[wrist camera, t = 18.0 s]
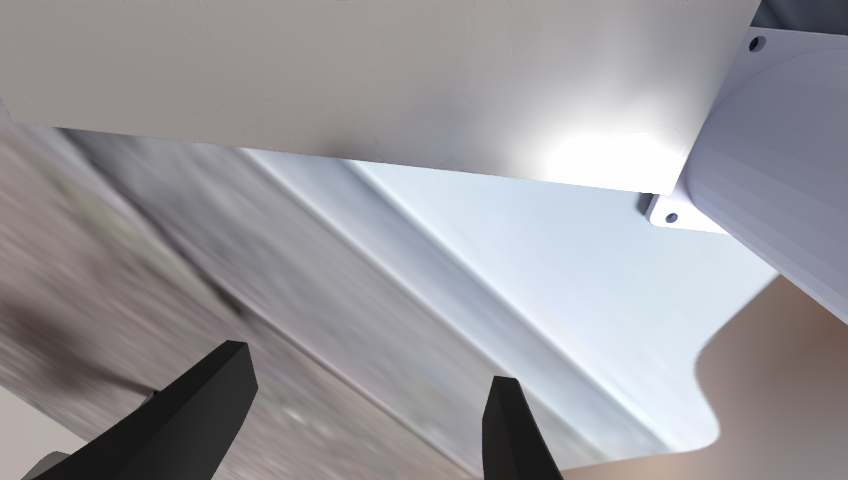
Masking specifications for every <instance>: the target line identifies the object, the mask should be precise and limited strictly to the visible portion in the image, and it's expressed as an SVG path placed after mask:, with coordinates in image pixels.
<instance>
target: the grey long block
mask: <svg viewBox="0 0 848 480" xmlns="http://www.w3.org/2000/svg"><path fill="white" fill-rule="evenodd" d="M761 1H762V0H0V97H1V99H2V101H3V103H4V105H5V107H6V109H7V111H8V113H9V115H10V117H11V119H12V121H13V122H18V123H27V124H36V125H45V126H54V127H63V128H72V129H81V130H90V131H99V132H108V133H117V134H126V135H135V136H144V137H153V138H162V139H171V140H180V141H189V142H198V143H207V144H216V145H225V146H234V147H243V148H252V149H261V150H270V151H279V152H288V153H297V154H306V155H315V156H324V157H333V158H342V159H351V160H360V161H369V162H378V163H387V164H396V165H405V166H414V167H423V168H432V169H441V170H450V171H459V172H468V173H477V174H486V175H495V176H504V177H513V178H522V179H531V180H540V181H549V182H558V183H567V184H576V185H585V186H594V187H603V188H612V189H621V190H630V191H639V192H648V193H658V194H667V195H670V193H671V191H672V189H673V187H674V185H675V183H676V181H677V179H678V176H679V174H680V172H681V170H682V168H683V166H684V164H685V162H686V159H687V157H688V155H689V153H690V151H691V149H692V147H693V145H694V142H695V140H696V138H697V136H698V134H699V132H700V130H701V128H702V126H703V123H704V121H705V119H706V117H707V115H708V113H709V111H710V109H711V106H712V104H713V102H714V100H715V98H716V96H717V94H718V92H719V90H720V87H721V85H722V83H723V81H724V79H725V77H726V75H727V73H728V70H729V68H730V66H731V64H732V62H733V60H734V58H735V56H736V54H737V51H738V49H739V47H740V45H741V43H742V41H743V39H744V37H745V34H746V32H747V30H748V28H749V26H750V24H751V22H752V20H753V18H754V15H755V13H756V11H757V9H758V7H759V5H760V3H761Z"/></svg>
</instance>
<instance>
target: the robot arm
mask: <svg viewBox="0 0 848 480" xmlns="http://www.w3.org/2000/svg"><path fill="white" fill-rule="evenodd" d="M756 37H757V38H758V44H757V46H756V47H755V48H754V49H753V50H752V51H750V50H749V45H750V43H751V41H752V40H753V39H754V38H756ZM671 213H674V214H673V216H672V217H671V218H669V219H666V217H667V215H669V214H671ZM645 217H646V220H647V221H648V222H649V223H650V224H651V225H654V226H659V227H668V228H677V229H686V230H694V231H703V232H712V233H721V234H729V235H731V236H733V237H734V238H735V239H736V240H738V241H739V242H740V243H742V244H743V245H744V246H746V247H747V248H748V249H749V250H751V251H752V252H753V253H755V254H756V255H757V256H759V257H760V258H761V259H763V260H764V261H765V262H766V263H768V264H769V265H770V266H772V267H773V268H774V269H776V270H777V271H778V272H779V273H781V274H782V275H784V276H785V277H786V278H787V279H789V280H790V281H791V282H793V283H794V284H795V285H797V286H798V287H799V288H800V289H802V290H803V291H805V292H806V293H807V294H808V295H810V296H811V297H812V298H814V299H815V300H816V301H817V302H819V303H820V304H821V305H823V306H824V307H825V308H826V309H828V310H829V311H830V312H832V313H833V314H834V315H836V316H837V317H838V318H839V319H841V320H842V321H843V322H845V323H846V324H847V325H848V36H845V35H835V34H824V33H813V32H802V31H791V30H780V29H770V28H759V27H749V28H748V30H747V32H746V34H745V37H744V39H743V41H742V43H741V45H740V47H739V49H738V51H737V54H736V56H735V58H734V60H733V62H732V64H731V66H730V68H729V70H728V73H727V75H726V77H725V79H724V81H723V83H722V85H721V87H720V90H719V92H718V94H717V96H716V98H715V100H714V102H713V104H712V106H711V109H710V111H709V113H708V115H707V117H706V119H705V121H704V123H703V126H702V128H701V130H700V132H699V134H698V136H697V138H696V140H695V142H694V145H693V147H692V149H691V151H690V153H689V155H688V157H687V159H686V162H685V164H684V166H683V168H682V170H681V172H680V174H679V176H678V179H677V181H676V183H675V185H674V187H673V189H672V191H671V193H670V195H667V194H658V193H655V194H654V196H653V198H652V200H651V203H650V205H649V207H648V209H647V212H646V215H645ZM257 390H258V385H257V381H256V377H255V373H254V369H253V364H252V360H251V356H250V352H249V348H248V344H247V343H245V342H238V341H230V340H227V341H225V342H224V343H223V344H221V345H220V346H219V347H217V348H216V349H215V350H213V351H212V352H211V353H210V354H208V355H207V356H206V357H204V358H203V359H202V360H201V361H199V362H198V363H197V364H196V365H194V366H193V367H192V368H190V369H189V370H188V371H187V372H185V373H184V374H183V375H182V376H180V377H179V378H178V379H176V380H175V381H174V382H172V383H171V384H170V385H169V386H167V387H166V388H165V389H163V390H162V391H161V392H159V393H158V394H157V395H155V396H154V397H153V398H151V399H150V400H149V401H147V402H146V403H145V404H143V405H142V406H141V407H139V408H138V409H137V410H135V411H134V412H132V413H131V414H130V415H128V416H127V417H125V418H124V419H123V420H121V421H120V422H118V423H117V424H116V425H114V426H113V427H111V428H110V429H109V430H107V431H106V432H104V433H103V434H101V435H100V436H99V437H97V438H96V439H94V440H93V441H91V442H90V443H88V444H87V445H85V446H84V447H82V448H81V449H79V450H78V451H76V452H75V453H73V454H72V455H70V456H68V457H67V458H65V459H64V460H62V461H61V462H59V463H57V464H56V465H54V466H53V467H51V468H50V469H48V470H46V471H45V472H43V473H42V474H40V475H38V476H37V477H35V478H33V479H32V480H211V478H212V477H213V475H214V473H215V472H216V470H217V468H218V466H219V465H220V463H221V461H222V459H223V458H224V456H225V454H226V453H227V451H228V449H229V447H230V446H231V444H232V442H233V440H234V438H235V437H236V435H237V433H238V431H239V430H240V428H241V426H242V424H243V422H244V420H245V418H246V416H247V413H248V411H249V409H250V407H251V404H252V402H253V399H254V397H255V395H256V392H257ZM482 459H483V470H484V480H564V479H563V477H562V476H561V473H560V472H559V470H558V468H557V466H556V464H555V462H554V460H553V458H552V456H551V454H550V452H549V450H548V448H547V446H546V444H545V442H544V440H543V437H542V435H541V433H540V431H539V429H538V427H537V424H536V422H535V420H534V418H533V416H532V413H531V411H530V409H529V406H528V404H527V402H526V399H525V397H524V394H523V392H522V389H521V386H520V384H519V381H518V380H517V379H516V378H509V377H501V376H494V378H493V382H492V386H491V389H490V393H489V396H488V400H487V404H486V407H485V411H484V415H483V418H482Z"/></svg>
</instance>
